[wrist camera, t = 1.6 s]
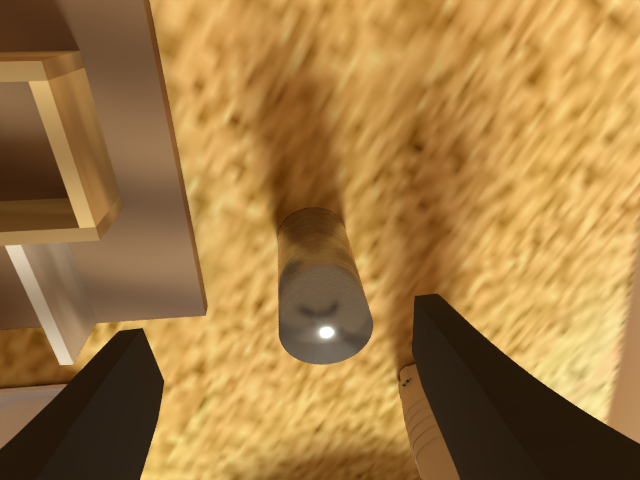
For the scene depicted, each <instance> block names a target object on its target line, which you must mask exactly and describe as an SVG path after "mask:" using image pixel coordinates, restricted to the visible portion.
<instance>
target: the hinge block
mask: <svg viewBox="0 0 640 480" xmlns="http://www.w3.org/2000/svg"><path fill="white" fill-rule="evenodd" d="M207 307H208V306H207V300H206V295H205V290H204V285H203V279H202V274H201V269H200V264H199V259H198V253H197V248H196V243H195V238H194V232H193V227H192V222H191V217H190V212H189V206H188V201H187V196H186V191H185V185H184V180H183V175H182V170H181V164H180V159H179V154H178V149H177V144H176V138H175V133H174V128H173V123H172V117H171V112H170V107H169V102H168V97H167V91H166V86H165V81H164V76H163V70H162V65H161V60H160V55H159V50H158V44H157V39H156V34H155V29H154V23H153V18H152V13H151V8H150V2H149V0H0V330H5V329H19V328H34V327H43V329H44V331H45V333H46V336H47V338H48V340H49V342H50V344H51V346H52V348H53V351H54V353H55V355H56V357H57V359H58V361H59V363H60V365H71V364H74V363H75V361H76V359H77V357H78V355H79V354H80V352H81V350H82V348H83V346H84V345H85V343H86V341H87V339H88V337H89V335H90V334H91V332H92V330H93V328H94V326H95V325H96V323H106V322H120V321H134V320H149V319H163V318H177V317H192V316H206V311H207Z"/></svg>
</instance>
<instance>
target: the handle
mask: <svg viewBox="0 0 640 480" xmlns="http://www.w3.org/2000/svg"><path fill="white" fill-rule="evenodd" d="M400 379H401V381H400V382H399V385H398V386H399V394H400V399H401V401H402V408H403V415H404V420H405V425H406V430H407V433H408V438H409V442H410V446H411V449H412V453H413V456H414V459H415V463H416V465H417V469H418V472H419V474H420V477H421V480H460V478H459V475H458V473H457V470H456V467H455V465H454V462H453V460H452V458H451V455H450V453H449V450H448V448H447V446H446V443H445V441H444V438H443V436H442V434H441V431H440V429H439V427H438V424H437V422H436V419H435V417H434V415H433V412H432V410H431V407H430V405H429V402H428V400H427V398H426V395H425V393H424V390H423V388H422V385H421V381H420V378H419V374H418V371H417V367H416V364H413V365H410V366H405V367H404V368H403V369H402V370H401V372H400Z"/></svg>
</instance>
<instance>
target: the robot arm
mask: <svg viewBox="0 0 640 480" xmlns="http://www.w3.org/2000/svg"><path fill="white" fill-rule="evenodd" d="M412 353H413V357H414V360H415V364H416V367H417V371H418V374H419V378H420V381H421V385H422V388H423V390H424V393H425V395H426V398H427V400H428V402H429V405H430V407H431V410H432V412H433V415H434V417H435V419H436V422H437V424H438V427H439V429H440V431H441V434H442V436H443V438H444V441H445V443H446V446H447V448H448V450H449V453H450V455H451V458H452V460H453V462H454V465H455V467H456V470H457V473H458V475H459V478H460V480H640V444H639V443H637V442H635V441H634V440H632V439H630V438H628V437H626V436H625V435H623V434H621V433H620V432H618V431H616V430H614V429H613V428H611V427H609V426H608V425H606V424H604V423H603V422H601V421H599V420H598V419H596V418H594V417H593V416H591V415H589V414H588V413H586V412H585V411H583V410H581V409H580V408H578V407H577V406H575V405H574V404H572V403H571V402H569V401H568V400H566V399H565V398H563V397H562V396H560V395H559V394H557V393H556V392H554V391H553V390H552V389H550V388H549V387H547V386H546V385H544V384H543V383H542V382H540V381H539V380H537V379H536V378H535V377H533V376H532V375H531V374H529V373H528V372H527V371H526V370H524V369H523V368H522V367H520V366H519V365H518V364H517V363H515V362H514V361H513V360H512V359H510V358H509V357H508V356H507V355H505V354H504V353H503V352H502V351H501V350H499V349H498V348H497V347H496V346H495V345H494V344H492V343H491V342H490V341H489V340H488V339H487V338H485V337H484V336H483V335H482V334H481V333H480V332H479V331H478V330H476V329H475V328H474V327H473V326H472V325H471V324H470V323H469V322H468V321H467V320H465V319H464V318H463V317H462V316H461V315H460V314H459V313H458V312H457V311H456V310H455V309H454V308H453V307H452V306H451V305H449V304H448V303H447V302H446V301H445V300H444V299H443V298H442V297H441V296H440V295H439V294H429V295H420V296H415V302H414V322H413V342H412ZM163 386H164V380H163V377H162V375H161V372H160V370H159V367H158V365H157V362H156V360H155V357H154V355H153V353H152V350H151V348H150V345H149V343H148V340H147V338H146V335H145V333H144V331H143V328H140V329H131V330H123V331H119V332H118V333H116V334H115V335H114V336H113V337H112V338H111V339H110V340H109V342H108V343H107V344H106V345H105V346H104V347H103V348H102V349H101V350H100V351H99V352H98V353H97V354H96V355H95V356H94V357H93V358H92V359H91V360H90V361H89V363H88V364H87V365H86V366H85V367H84V368H83V369H82V370H81V371H80V372H79V373H78V374H77V375H76V376H75V377H74V378H73V379H72V380H71V381H70V382H69V383H68V384H59V385H46V386H34V387H21V388H9V389H0V480H140V478H141V474H142V471H143V468H144V465H145V461H146V458H147V455H148V452H149V448H150V445H151V441H152V438H153V435H154V431H155V428H156V424H157V421H158V416H159V411H160V405H161V399H162V393H163Z"/></svg>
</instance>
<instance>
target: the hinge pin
mask: <svg viewBox="0 0 640 480" xmlns="http://www.w3.org/2000/svg"><path fill="white" fill-rule="evenodd" d="M278 302H279V338H280V341H281V344H282V345H283V347H284V348H285V350H286V351H287V352H288V353H289V354H290V355H292V356H293V357H295V358H296V359H298V360H301V361H303V362H307V363H311V364H332V363H337V362H340V361H343V360H346V359H348V358H350V357H352V356H354V355H355V354H357V353H358V352H359V351H360V350H361V349H362V348H363V347H364V346H365V345H366V344H367V342H368V341H369V339H370V337H371V334H372V330H373V321H372V316H371V313H370V310H369V306H368V303H367V300H366V296H365V293H364V290H363V287H362V283H361V280H360V277H359V273H358V270H357V267H356V263H355V260H354V257H353V253H352V250H351V247H350V244H349V240H348V237H347V234H346V230H345V227H344V225H343V223H342V221H341V220H340V219H339V218H338V217H337V216H336V215H335V214H333V213H332V212H330V211H328V210H325V209H321V208H306V209H302V210H299V211H297V212H295V213H293V214H291V215H290V216H289V217H288V218H287V219H286V220H285V221H284V222H283V224H282V225H281V227H280V229H279V233H278Z"/></svg>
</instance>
